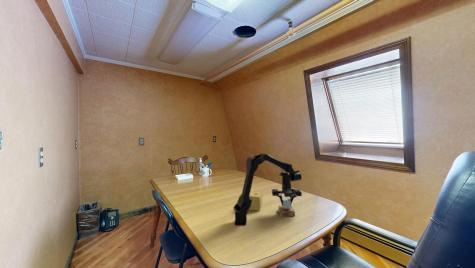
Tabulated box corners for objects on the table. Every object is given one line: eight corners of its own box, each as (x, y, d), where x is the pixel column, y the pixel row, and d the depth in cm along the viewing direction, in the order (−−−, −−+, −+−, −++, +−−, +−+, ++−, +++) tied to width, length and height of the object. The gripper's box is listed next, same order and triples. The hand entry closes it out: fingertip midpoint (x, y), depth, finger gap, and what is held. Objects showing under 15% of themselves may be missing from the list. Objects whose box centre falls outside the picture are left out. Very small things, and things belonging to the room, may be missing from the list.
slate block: (283, 208, 125) (283, 201, 125) (281, 205, 130) (281, 198, 130) (290, 208, 125) (291, 201, 125) (289, 205, 130) (289, 198, 130)
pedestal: (280, 215, 123) (280, 211, 123) (278, 209, 132) (278, 205, 132) (294, 216, 123) (294, 211, 123) (291, 210, 132) (291, 205, 132)
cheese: (249, 203, 144) (249, 190, 143) (263, 205, 140) (263, 192, 140) (245, 209, 134) (244, 195, 133) (260, 211, 130) (260, 197, 130)
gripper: (273, 185, 119) (273, 210, 120) (304, 185, 118) (304, 210, 119) (271, 180, 130) (271, 203, 131) (299, 180, 129) (299, 203, 130)
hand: (286, 205), depth 127 cm, fingers closed on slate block, 5 cm apart
